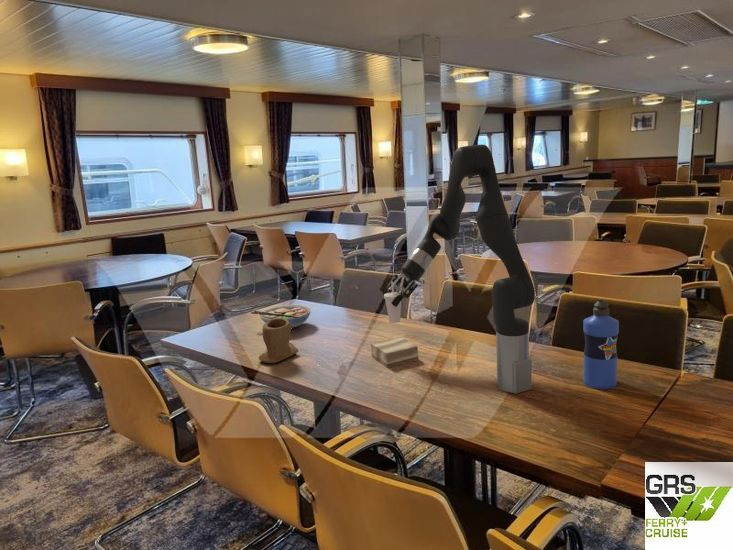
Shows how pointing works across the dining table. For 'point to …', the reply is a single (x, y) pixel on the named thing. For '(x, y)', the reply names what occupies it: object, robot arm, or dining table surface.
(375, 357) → the low rectangular block
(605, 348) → the water bottle
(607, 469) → the dining table surface
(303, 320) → the ramen bowl
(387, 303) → the smoothie
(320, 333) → the dining table surface
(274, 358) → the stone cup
